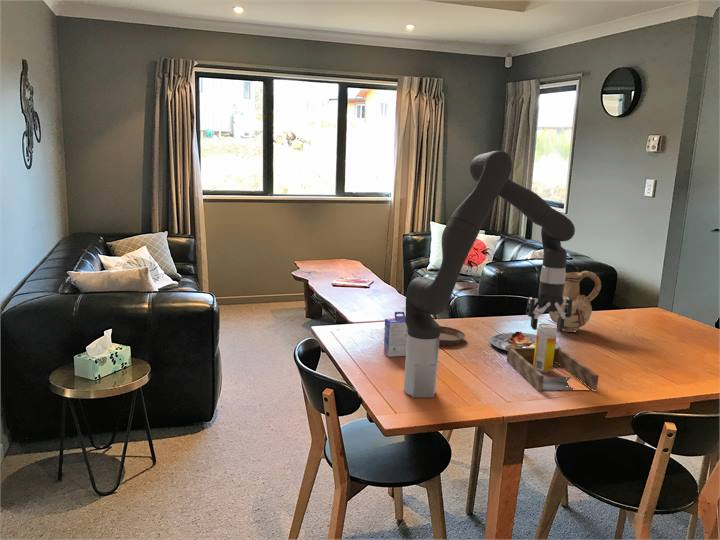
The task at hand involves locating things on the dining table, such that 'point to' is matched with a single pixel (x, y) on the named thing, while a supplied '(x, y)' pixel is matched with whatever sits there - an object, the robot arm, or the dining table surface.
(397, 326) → the ink cartridge box
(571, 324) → the ceramic vessel
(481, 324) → the dining table surface
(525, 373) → the bay
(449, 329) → the plant saucer
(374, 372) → the dining table surface
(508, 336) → the food plate
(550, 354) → the beer can
